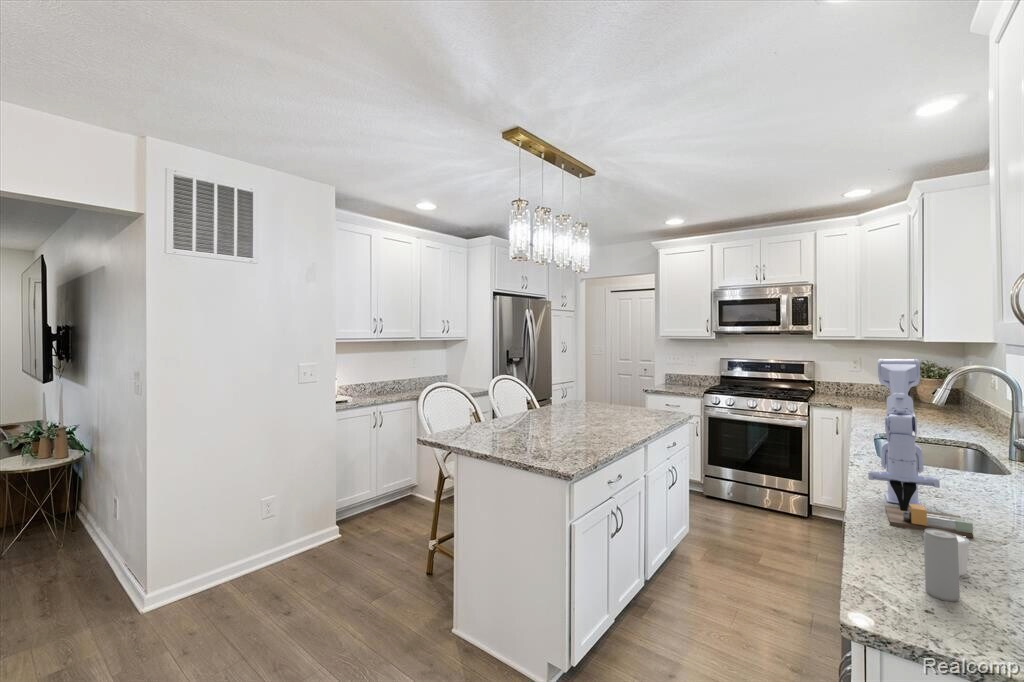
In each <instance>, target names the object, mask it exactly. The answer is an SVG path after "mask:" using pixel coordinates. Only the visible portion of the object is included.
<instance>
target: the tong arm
mask: <svg viewBox="0 0 1024 682" xmlns="http://www.w3.org/2000/svg"><path fill="white" fill-rule="evenodd" d="M927 516H932V517H939V518H946V519H953V520H955V519H956V520H963V521H966V519H964V517H961V518H958V517H951V516H940V515H933V514H927Z"/></svg>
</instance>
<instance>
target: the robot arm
mask: <svg viewBox="0 0 1024 682" xmlns="http://www.w3.org/2000/svg"><path fill="white" fill-rule="evenodd" d="M877 376H878V381H879V382H880V383H879V384H880V385H882V386H886V387H887V388H888V390H889V393H890V395H888V396H887V398H886V415H885V416H884V431H885V435H886V441H885V442H883V443H882V445H881V450H880V461H881V468H882V469H883V470H886V471H873V470H872V471H871V470H868V471H867V475H868V476H867V478H868V480H871V481H874V480H875V481H883V482H884V481H885V482H887V492H885V493H884V495H885V498H886V501H887V503H893V504H898V507H900V510H901V511H907V510H908V509H909V504H915V505H923V504H922V502H921V501H920V499H919V486H927V487H933V488H939V489H940V487H941V485H940V480H939V478H937V477H928V476H923V475H919V474H922V473H923V472H924V458H923V457H924V455H923V449H922V448H921V446H920V445H918V444H917V443H916V437H917V434H918V423H917V422H918V421H917V417H916V413H915V411H914V399H913V398H912V397H911V396H910V395H909V392H910V389H911V388H912V387H916V386H918V385H919V383H920V380H921V361H920V360H919V359H918V358H903V359H902V358H885V359H884V358H879V359H878V360H877ZM913 432H914V435H913Z"/></svg>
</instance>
